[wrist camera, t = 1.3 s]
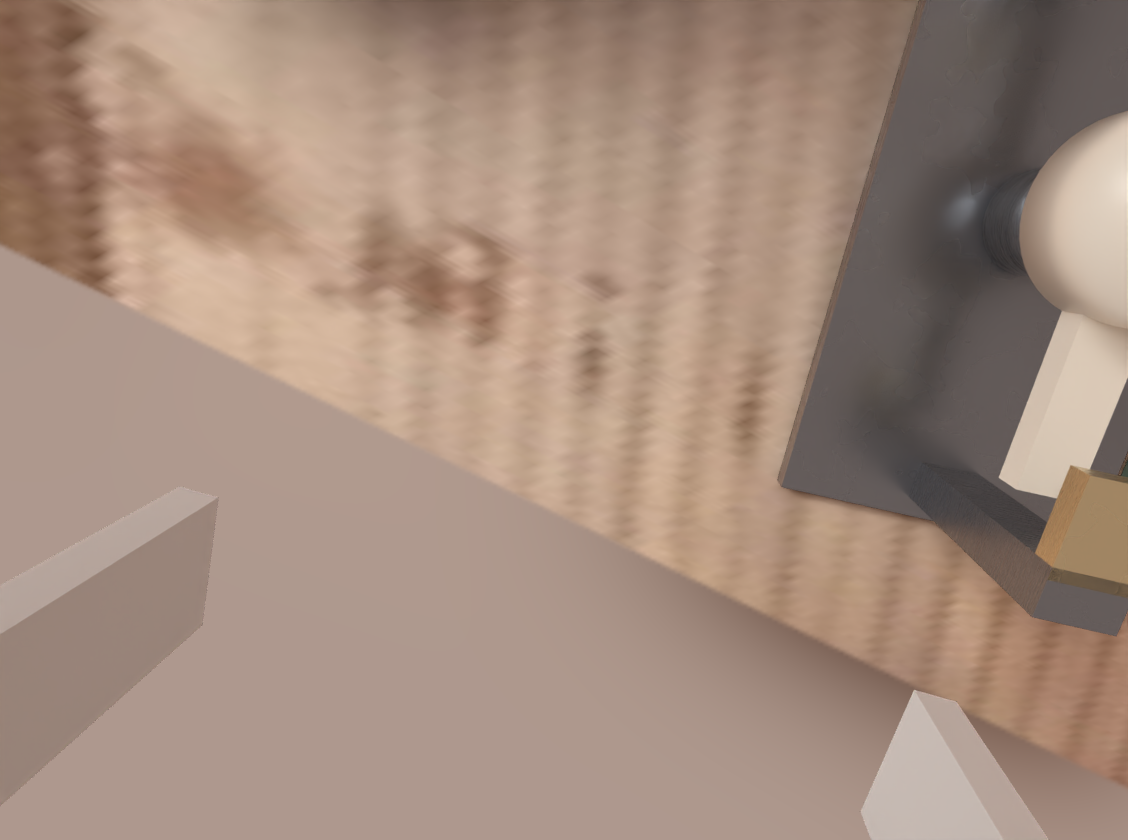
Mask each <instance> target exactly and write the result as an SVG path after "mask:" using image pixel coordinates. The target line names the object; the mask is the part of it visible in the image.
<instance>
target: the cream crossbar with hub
mask: <svg viewBox="0 0 1128 840" xmlns="http://www.w3.org/2000/svg"><path fill="white" fill-rule="evenodd" d="M1019 241H1020V249H1021V255H1022V259H1023V262H1024V266H1025V268H1026V271H1027V273H1028V275H1029V277H1030V279H1031V281H1032V282H1033V284H1034V285H1035V287H1036V289H1037V290H1038V291H1039V292H1040V293H1041V294H1042V295H1043V297H1044V298H1045V299H1047V300H1048V301H1049V302H1050V303H1051V304H1052V305H1054V306H1055V307H1057V308H1058V309H1060V310H1061V311H1062V312H1061V315H1060V317H1059V320H1058V323H1057V325H1056V328H1055V330H1054V333H1053V336H1052V338H1051V341H1050V344H1049V346H1048V349H1047V352H1046V354H1045V357H1044V359H1043V362H1042V365H1041V367H1040V370H1039V373H1038V375H1037V378H1036V380H1035V383H1034V386H1033V388H1032V391H1031V394H1030V396H1029V399H1028V402H1027V404H1026V407H1025V409H1024V412H1023V415H1022V417H1021V420H1020V423H1019V425H1018V428H1017V431H1016V433H1015V436H1014V438H1013V441H1012V444H1011V446H1010V449H1009V452H1008V454H1007V457H1006V460H1005V462H1004V465H1003V467H1002V470H1001V473H1000V475H999V478H1000V479H1001V480H1003V481H1004V482H1006V483H1007V484H1009V485H1010V486H1012V487H1013V488H1015V489H1016V490H1021V491H1025V492H1030V493H1034V494H1039V495H1043V496H1048V497H1052V498H1057V497H1058V495H1059V492H1060V490H1061V487H1062V485H1063V482H1064V480H1065V477H1066V475H1067V473H1068V470H1069V468H1070V465H1073V466H1078V467H1082V468H1087V469H1090V468H1091V465H1092V463H1093V460H1094V458H1095V456H1096V453H1097V451H1098V448H1099V446H1100V443H1101V441H1102V439H1103V436H1104V434H1105V431H1106V429H1107V426H1108V424H1109V422H1110V419H1111V417H1112V414H1113V412H1114V410H1115V407H1116V405H1117V402H1118V400H1119V397H1120V395H1121V393H1122V390H1123V388H1124V385H1125V383H1126V380H1127V378H1128V111H1125V112H1122V113H1118V114H1114V115H1111V116H1109V117H1106V118H1104V119H1101V120H1099V121H1097V122H1095V123H1093V124H1091V125H1089V126H1087V127H1086V128H1084V129H1082V130H1081V131H1079V132H1078V133H1077V134H1075V135H1074V136H1072V137H1071V138H1070V139H1069V140H1067V141H1066V142H1065V143H1064V144H1063V145H1062V146H1060V147H1059V148H1058V149H1057V150H1056V152H1055V153H1054V154H1053V155H1052V156H1051V157H1050V158H1049V159H1048V160H1047V162H1046V163H1045V165H1044V166H1043V167H1042V169H1041V170H1040V171H1039V173H1038V175H1037V176H1036V178H1035V180H1034V182H1033V183H1032V185H1031V188H1030V190H1029V192H1028V195H1027V197H1026V200H1025V203H1024V207H1023V210H1022V215H1021V221H1020V238H1019Z"/></svg>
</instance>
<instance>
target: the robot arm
mask: <svg viewBox="0 0 1128 840" xmlns="http://www.w3.org/2000/svg"><path fill="white" fill-rule="evenodd" d="M217 506H218V497H215V496H212V495H208V494H204V493H201V492H197V491H194V490H190V489H187V488H183V487H178V488H176V489H174V490H172V491H171V492H169V493H167V494H165V495H163V496H161V497H160V498H158V499H156V500H154V501H152V502H151V503H149V504H147V505H145V506H143V507H141V508H140V509H138V510H136V511H134V512H132V513H131V514H129V515H127V516H125V517H124V518H121V519H120V520H118V521H116V522H114V523H112V524H111V525H109V526H107V527H105V528H103V529H101V530H100V531H98V532H96V533H94V534H92V535H91V536H89V537H87V538H85V539H84V540H82V541H80V542H78V543H76V544H74V545H72V546H71V547H69V548H67V549H65V550H63V551H62V552H60V553H58V554H56V555H54V556H53V557H51V558H49V559H47V560H46V561H43V562H42V563H40V564H38V565H36V566H34V567H32V568H31V569H29V570H27V571H25V572H23V573H22V574H20V575H18V576H16V577H14V578H12V579H11V580H9V581H7V582H5V583H3V584H2V585H0V806H1V805H2V804H3V803H4V802H5V801H6V800H8V799H9V798H10V797H11V796H12V795H13V794H14V793H15V792H16V791H18V790H19V789H20V788H21V787H22V786H23V785H24V784H25V783H27V782H28V781H29V780H30V779H31V778H32V777H33V776H34V775H35V774H37V773H38V772H39V771H40V770H41V769H42V768H43V767H44V766H46V765H47V764H48V763H49V762H50V761H51V760H52V759H53V758H54V757H56V756H57V755H58V754H59V753H60V752H61V751H62V750H63V749H65V748H66V747H67V746H68V745H69V744H70V743H71V742H72V741H73V740H75V739H76V738H77V737H78V736H79V735H80V734H81V733H82V732H83V731H85V730H86V729H87V728H88V727H89V726H90V725H91V724H92V723H94V721H96V720H97V719H98V718H99V717H100V716H101V715H103V714H104V713H105V712H106V711H107V710H108V709H109V708H110V707H111V706H113V705H114V704H115V703H116V702H117V701H118V700H119V699H120V698H121V697H123V696H124V695H125V694H126V693H127V692H128V691H129V690H130V689H132V688H133V687H134V686H135V685H136V684H137V683H138V682H139V681H141V680H142V679H143V678H144V677H145V676H146V675H147V674H148V673H149V672H151V671H152V670H153V669H154V668H155V667H156V666H157V665H158V664H159V663H161V662H162V661H163V660H164V659H165V658H166V657H167V656H168V655H170V654H171V653H172V652H173V651H174V650H175V649H176V648H177V647H179V646H180V645H181V644H182V643H183V642H184V641H185V640H186V639H187V638H189V637H190V636H191V635H192V634H193V633H194V632H195V631H196V630H197V629H199V628H200V627H201V626H202V624H203V617H204V609H205V601H206V593H207V585H208V577H209V568H210V561H211V554H212V546H213V538H214V530H215V522H216V513H217ZM861 814H862V817H863V819H864V822H865V825H866V827H867V830H868V833H869V835H870V838H871V840H1049V839H1048V837H1047V836H1046V835H1045V833H1044V831H1043V830H1042V828H1041V827H1040V826H1039V824H1038V823H1037V821H1036V820H1035V818H1034V817H1033V815H1032V814H1031V812H1030V811H1029V809H1028V808H1027V806H1026V805H1025V803H1024V802H1023V800H1022V799H1021V797H1020V796H1019V794H1018V793H1017V791H1016V790H1015V788H1014V787H1013V785H1012V784H1011V782H1010V781H1009V779H1008V778H1007V776H1006V775H1005V773H1004V772H1003V770H1002V769H1001V767H1000V766H999V765H998V763H997V761H996V760H995V758H994V757H993V755H992V754H991V753H990V751H989V750H988V748H987V746H986V745H985V744H984V742H983V741H982V739H981V738H980V736H979V735H978V733H977V732H976V730H975V729H974V727H973V726H972V724H971V723H970V721H969V720H968V718H967V717H966V715H965V714H964V712H963V711H962V709H961V708H960V706H959V705H958V703H957V702H956V701H953V700H949V699H945V698H942V697H938V696H935V695H931V694H927V693H924V692H920V691H917V690H914V691H913V694H912V696H911V698H910V700H909V703H908V705H907V707H906V710H905V712H904V714H903V717H902V719H901V721H900V723H899V725H898V728H897V730H896V732H895V735H894V737H893V739H892V742H891V744H890V746H889V748H888V750H887V753H886V755H885V758H884V760H883V762H882V764H881V767H880V769H879V771H878V773H877V775H876V778H875V780H874V782H873V785H872V787H871V789H870V791H869V794H868V796H867V798H866V800H865V803H864V805H863V807H862V810H861Z"/></svg>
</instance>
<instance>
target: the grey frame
mask: <svg viewBox="0 0 1128 840" xmlns="http://www.w3.org/2000/svg"><path fill="white" fill-rule="evenodd" d="M1125 111H1128V0H919V2H918V6H917V9H916V12H915V16H914V19H913V23H912V26H911V29H910V33H909V36H908V39H907V43H906V46H905V50H904V53H903V56H902V60H901V63H900V67H899V70H898V73H897V77H896V80H895V83H894V87H893V90H892V94H891V97H890V100H889V104H888V107H887V111H886V114H885V117H884V121H883V124H882V127H881V131H880V134H879V138H878V141H877V144H876V148H875V151H874V155H873V158H872V161H871V165H870V168H869V171H868V175H867V178H866V182H865V185H864V188H863V192H862V195H861V199H860V202H859V205H858V209H857V212H856V216H855V219H854V222H853V226H852V229H851V232H850V236H849V239H848V243H847V246H846V249H845V253H844V256H843V260H842V263H841V266H840V270H839V273H838V276H837V280H836V283H835V287H834V290H833V293H832V297H831V300H830V304H829V307H828V310H827V314H826V317H825V320H824V324H823V327H822V331H821V334H820V337H819V341H818V344H817V348H816V351H815V354H814V358H813V361H812V364H811V368H810V371H809V375H808V378H807V381H806V385H805V388H804V392H803V395H802V398H801V402H800V405H799V409H798V412H797V415H796V419H795V422H794V425H793V429H792V432H791V436H790V439H789V442H788V446H787V449H786V453H785V456H784V459H783V463H782V466H781V469H780V473H779V476H778V482H779V483H780V485H781V487H784V488H788V489H793V490H797V491H802V492H806V493H811V494H815V495H819V496H824V497H828V498H833V499H837V500H842V501H846V502H851V503H855V504H860V505H864V506H868V507H873V508H877V509H882V510H886V511H891V512H895V513H900V514H904V515H909V516H913V517H918V518H922V519H926V520H931V521H934V522H935V523H936V524H937V525H938V526H939V527H940V528H941V529H942V530H943V531H944V532H945V533H946V534H947V535H948V536H949V537H950V538H951V539H953V540H954V541H955V542H956V543H957V544H958V545H959V546H960V547H961V548H962V549H963V550H964V551H965V552H966V553H967V554H968V555H969V556H970V557H971V558H972V559H973V560H974V561H975V562H976V563H977V564H978V565H979V566H980V567H981V568H982V569H983V570H984V571H985V572H986V573H987V574H988V575H989V576H990V577H991V578H993V579H994V580H995V581H996V582H997V583H998V584H999V585H1000V586H1001V587H1002V588H1003V589H1004V590H1005V591H1006V592H1007V593H1008V594H1009V595H1010V596H1011V597H1012V598H1013V599H1014V600H1015V601H1016V602H1017V603H1018V604H1019V605H1020V606H1021V607H1022V608H1023V609H1024V610H1025V611H1026V612H1027V613H1028V614H1029V615H1030V616H1031V617H1034V618H1039V619H1043V620H1048V621H1052V622H1056V623H1061V624H1065V625H1069V626H1074V627H1078V628H1082V629H1087V630H1091V631H1095V632H1100V633H1104V634H1109V635H1113V636H1117V634H1118V631H1119V629H1120V627H1121V625H1122V623H1123V620H1124V618H1125V616H1126V614H1127V611H1128V477H1124V476H1119V475H1118V473H1119V471H1120V468H1121V466H1122V464H1123V461H1124V459H1125V457H1126V454H1127V452H1128V378H1127V380H1126V383H1125V385H1124V388H1123V390H1122V393H1121V395H1120V397H1119V400H1118V402H1117V405H1116V407H1115V410H1114V412H1113V414H1112V417H1111V419H1110V422H1109V424H1108V426H1107V429H1106V431H1105V434H1104V436H1103V439H1102V441H1101V443H1100V446H1099V448H1098V451H1097V453H1096V456H1095V458H1094V460H1093V463H1092V465H1091V468H1090V469H1087V468H1082V467H1078V466H1073V465H1070V468H1069V470H1068V473H1067V475H1066V477H1065V480H1064V482H1063V485H1062V487H1061V490H1060V492H1059V495H1058V497H1057V498H1052V497H1048V496H1043V495H1039V494H1034V493H1030V492H1025V491H1021V490H1016V489H1015V488H1013V487H1012V486H1010V485H1009V484H1007V483H1006V482H1004V481H1003V480H1001V479H1000V478H999V475H1000V473H1001V470H1002V467H1003V465H1004V462H1005V460H1006V457H1007V454H1008V452H1009V449H1010V446H1011V444H1012V441H1013V438H1014V436H1015V433H1016V431H1017V428H1018V425H1019V423H1020V420H1021V417H1022V415H1023V412H1024V409H1025V407H1026V404H1027V402H1028V399H1029V396H1030V394H1031V391H1032V388H1033V386H1034V383H1035V380H1036V378H1037V375H1038V373H1039V370H1040V367H1041V365H1042V362H1043V359H1044V357H1045V354H1046V352H1047V349H1048V346H1049V344H1050V341H1051V338H1052V336H1053V333H1054V330H1055V328H1056V325H1057V323H1058V320H1059V317H1060V315H1061V312H1062V311H1061V310H1060V309H1058V308H1057V307H1055V306H1054V305H1052V304H1051V303H1050V302H1049V301H1048V300H1047V299H1045V298H1044V297H1043V295H1042V294H1041V293H1040V292H1039V291H1038V290H1037V289H1036V287H1035V285H1034V284H1033V282H1032V281H1031V279H1030V277H1029V275H1028V273H1027V271H1026V268H1025V266H1024V262H1023V259H1022V255H1021V249H1020V241H1019V238H1020V221H1021V215H1022V210H1023V207H1024V203H1025V200H1026V197H1027V195H1028V192H1029V190H1030V188H1031V185H1032V183H1033V182H1034V180H1035V178H1036V176H1037V175H1038V173H1039V171H1040V170H1041V169H1042V167H1043V166H1044V165H1045V163H1046V162H1047V160H1048V159H1049V158H1050V157H1051V156H1052V155H1053V154H1054V153H1055V152H1056V150H1057V149H1058V148H1059V147H1060V146H1062V145H1063V144H1064V143H1065V142H1066V141H1067V140H1069V139H1070V138H1071V137H1072V136H1074V135H1075V134H1077V133H1078V132H1079V131H1081V130H1082V129H1084V128H1086V127H1087V126H1089V125H1091V124H1093V123H1095V122H1097V121H1099V120H1101V119H1104V118H1106V117H1109V116H1111V115H1114V114H1118V113H1122V112H1125Z"/></svg>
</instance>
